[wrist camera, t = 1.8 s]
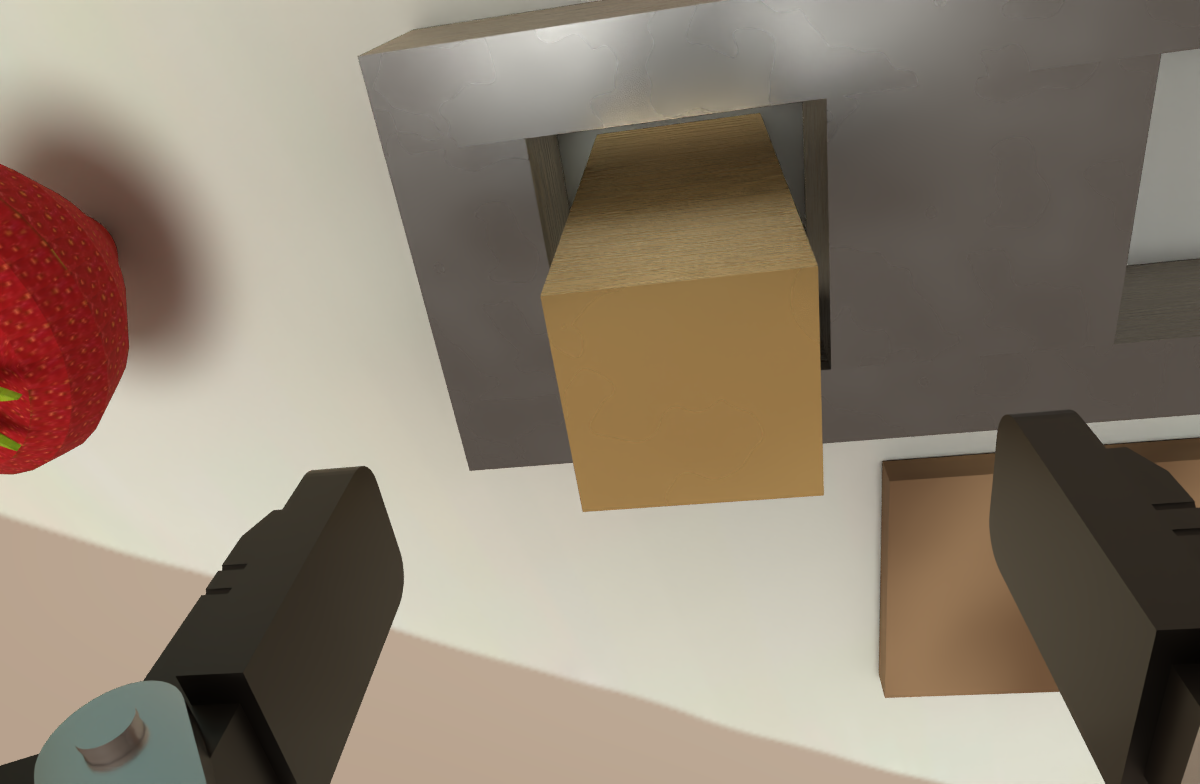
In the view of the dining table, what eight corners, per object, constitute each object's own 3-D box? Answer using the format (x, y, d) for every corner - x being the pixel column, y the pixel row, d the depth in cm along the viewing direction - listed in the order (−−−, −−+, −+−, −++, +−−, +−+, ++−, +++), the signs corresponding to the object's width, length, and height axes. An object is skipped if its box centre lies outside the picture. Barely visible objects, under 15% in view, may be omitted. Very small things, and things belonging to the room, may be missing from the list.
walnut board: (1331, 428, 24) (1356, 448, 23) (1257, 659, 28) (1276, 683, 27) (882, 461, 25) (889, 481, 24) (879, 674, 30) (885, 697, 29)
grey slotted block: (1572, -151, 17) (1802, -165, 13) (1412, 309, 22) (1550, 386, 18) (412, 30, 20) (357, 56, 17) (498, 392, 25) (469, 470, 22)
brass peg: (760, 113, 21) (817, 266, 12) (768, 267, 23) (823, 494, 14) (596, 134, 21) (540, 296, 13) (619, 283, 23) (582, 512, 14)
